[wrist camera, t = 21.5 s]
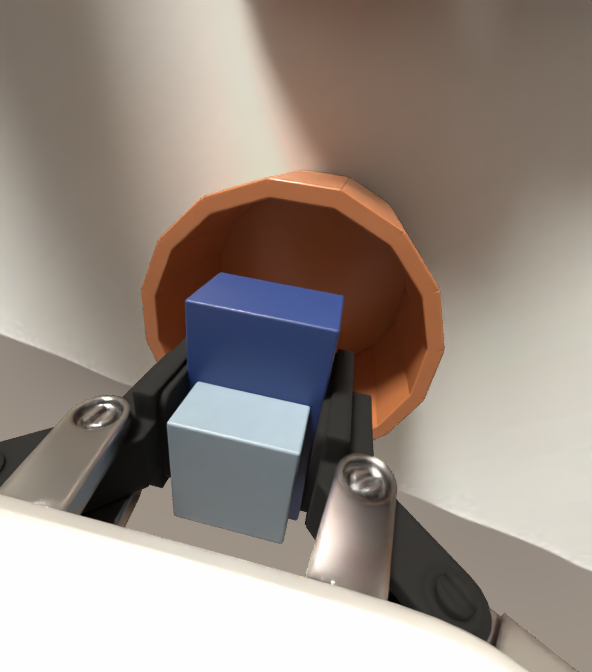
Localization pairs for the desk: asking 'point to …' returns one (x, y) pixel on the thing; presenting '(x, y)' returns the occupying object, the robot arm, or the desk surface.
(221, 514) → the blue and grey blocks
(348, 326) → the tin
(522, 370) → the desk surface
